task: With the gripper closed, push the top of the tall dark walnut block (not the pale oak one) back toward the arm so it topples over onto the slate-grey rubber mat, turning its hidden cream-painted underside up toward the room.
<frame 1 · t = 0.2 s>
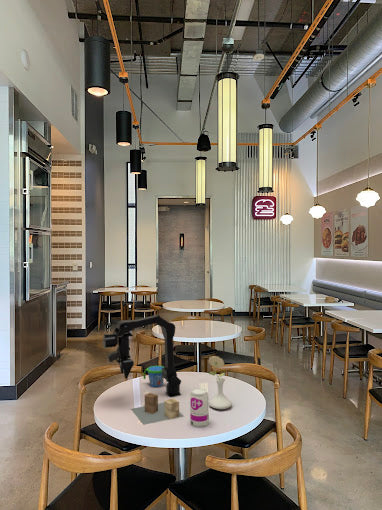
hand: (124, 375, 197), 14 cm above the table, fingers open, 9 cm apart
slate mat: (156, 413, 184), on the table
supplement can: (199, 425, 171), on the table
walnut block: (151, 411, 185), point 1 cm above the table, touching slate mat
snack cup: (156, 385, 224), on the table
oak block: (171, 415, 179), point 1 cm above the table, touching slate mat
flower in vase: (219, 406, 191), on the table
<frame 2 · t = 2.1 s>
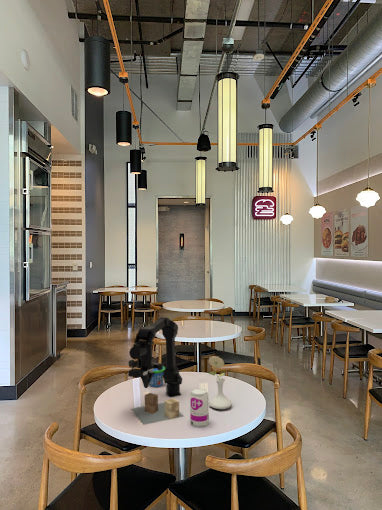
hand: (145, 387, 182), 13 cm above the table, fingers closed
nothing on the table moved.
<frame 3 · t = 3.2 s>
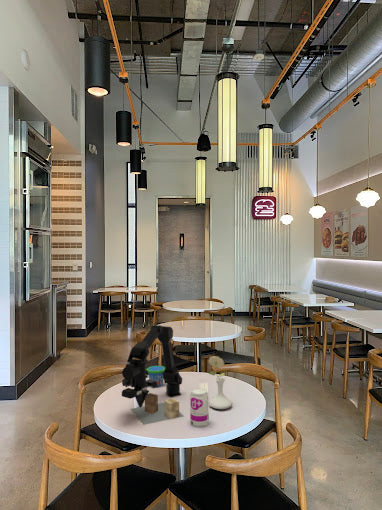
hand: (140, 406, 178), 5 cm above the table, fingers closed
nothing on the table moved.
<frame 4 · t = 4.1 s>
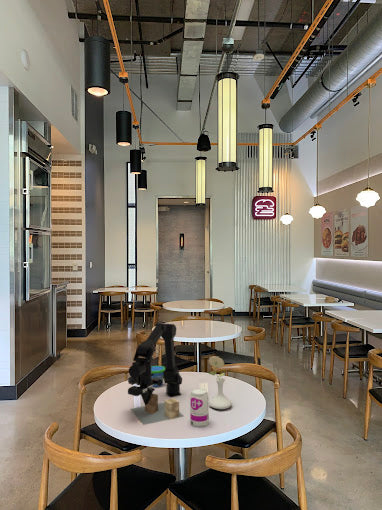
hand: (145, 404, 182), 5 cm above the table, fingers closed
walnut block: (151, 411, 185), point 1 cm above the table, touching gripper, slate mat
everything else where it was.
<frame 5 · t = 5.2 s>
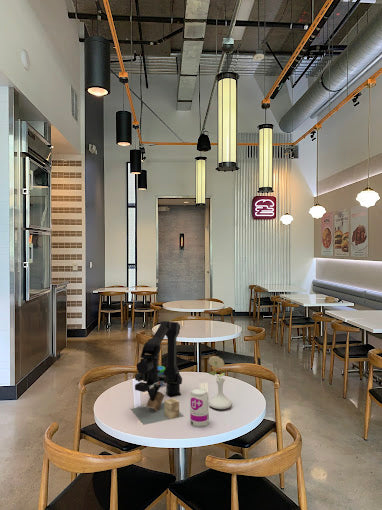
hand: (152, 400, 185), 6 cm above the table, fingers closed
walnut block: (152, 408, 185), point 2 cm above the table, tilted 39°, touching gripper, slate mat
everything else where it was.
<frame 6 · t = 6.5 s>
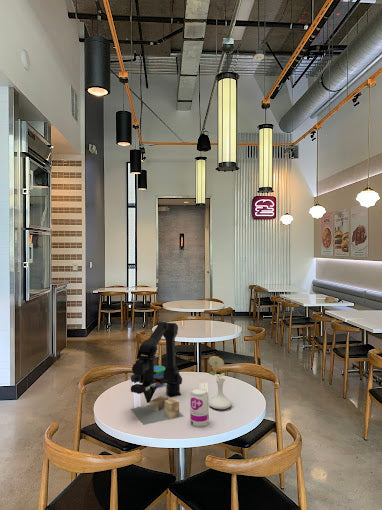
hand: (148, 402, 183), 6 cm above the table, fingers closed
walnut block: (154, 406, 186), point 3 cm above the table, tilted 90°, touching slate mat
everything else where it was.
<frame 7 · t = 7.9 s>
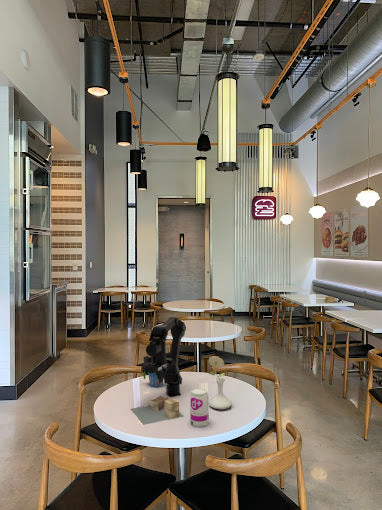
hand: (160, 382, 193), 12 cm above the table, fingers closed
nothing on the table moved.
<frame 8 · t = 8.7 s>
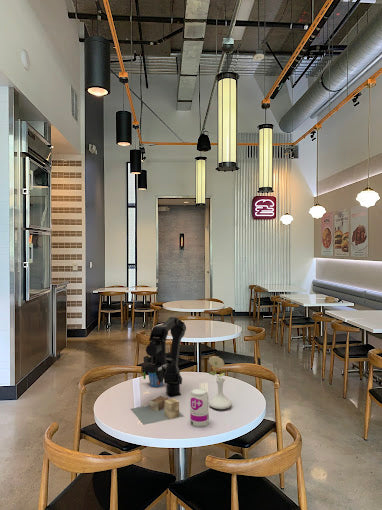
hand: (160, 382, 193), 12 cm above the table, fingers closed
nothing on the table moved.
at the end: walnut block tilted 90°; walnut block inside the target area (3.0 cm from its centre), point 2.6 cm above the table; oak block moved 0.1 cm from its start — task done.
